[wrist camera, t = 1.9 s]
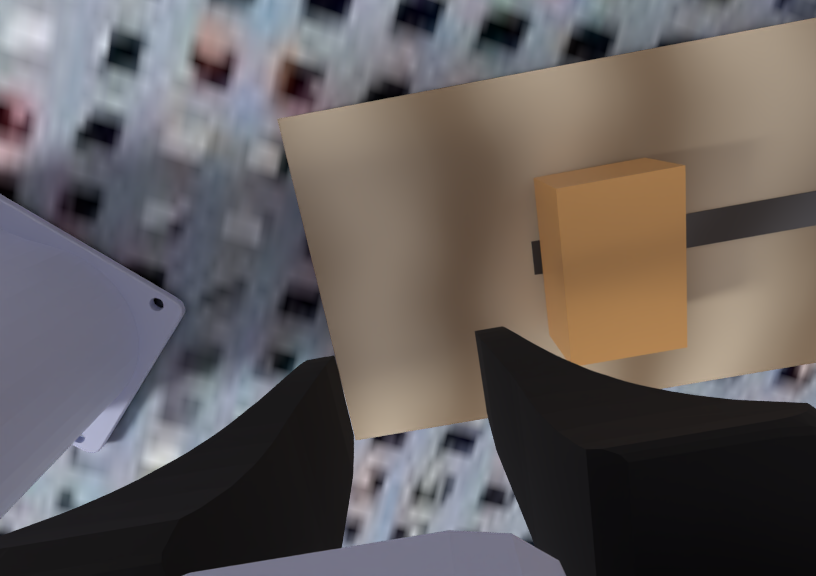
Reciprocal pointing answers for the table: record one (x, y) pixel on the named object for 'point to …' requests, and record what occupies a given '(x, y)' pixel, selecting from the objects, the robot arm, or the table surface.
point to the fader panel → (518, 224)
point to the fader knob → (614, 259)
